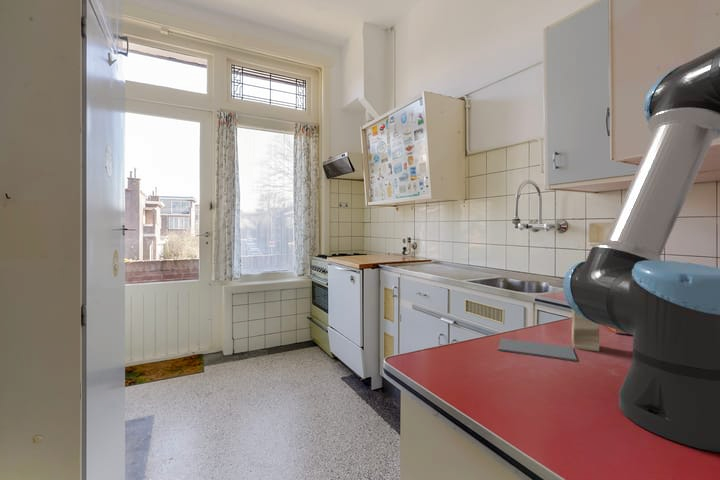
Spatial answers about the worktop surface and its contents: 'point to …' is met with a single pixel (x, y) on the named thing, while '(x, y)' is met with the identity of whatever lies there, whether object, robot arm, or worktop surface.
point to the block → (584, 333)
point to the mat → (537, 349)
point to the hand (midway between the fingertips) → (636, 283)
